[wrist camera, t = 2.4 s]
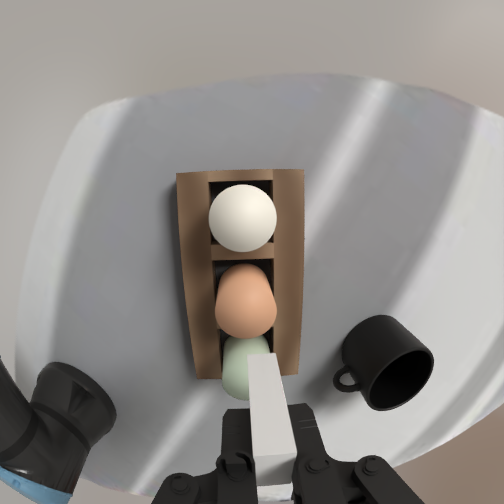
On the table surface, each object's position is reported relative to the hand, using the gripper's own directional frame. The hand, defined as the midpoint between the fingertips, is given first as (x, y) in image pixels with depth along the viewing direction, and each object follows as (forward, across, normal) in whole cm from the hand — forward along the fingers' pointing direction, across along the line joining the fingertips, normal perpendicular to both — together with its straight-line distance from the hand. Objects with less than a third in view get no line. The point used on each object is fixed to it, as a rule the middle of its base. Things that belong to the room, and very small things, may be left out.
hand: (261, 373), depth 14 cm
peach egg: (+14, -1, 0) cm, 14 cm away
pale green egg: (+14, -1, -8) cm, 16 cm away
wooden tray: (+17, -1, 0) cm, 17 cm away
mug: (+17, +15, -11) cm, 25 cm away
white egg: (+14, -1, +7) cm, 16 cm away
